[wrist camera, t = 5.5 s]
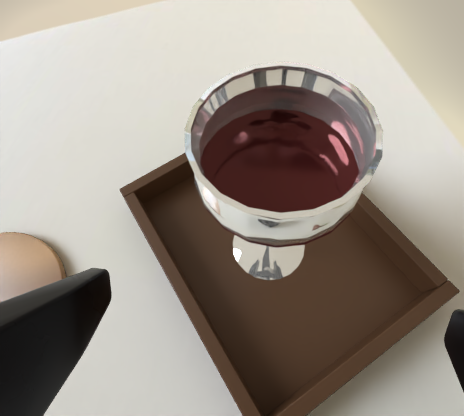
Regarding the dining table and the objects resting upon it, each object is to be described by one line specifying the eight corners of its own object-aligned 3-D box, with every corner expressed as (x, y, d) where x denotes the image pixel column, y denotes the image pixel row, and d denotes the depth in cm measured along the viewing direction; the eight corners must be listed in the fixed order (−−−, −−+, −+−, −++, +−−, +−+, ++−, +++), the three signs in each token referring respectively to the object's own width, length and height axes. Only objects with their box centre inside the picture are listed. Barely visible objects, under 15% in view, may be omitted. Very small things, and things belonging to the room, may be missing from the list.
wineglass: (259, 185, 23) (262, 37, 12) (337, 237, 21) (423, 113, 10) (200, 251, 21) (141, 145, 10) (278, 316, 19) (308, 268, 8)
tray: (438, 298, 19) (460, 291, 17) (261, 438, 17) (262, 451, 15) (272, 122, 26) (273, 102, 24) (130, 203, 24) (118, 189, 22)
